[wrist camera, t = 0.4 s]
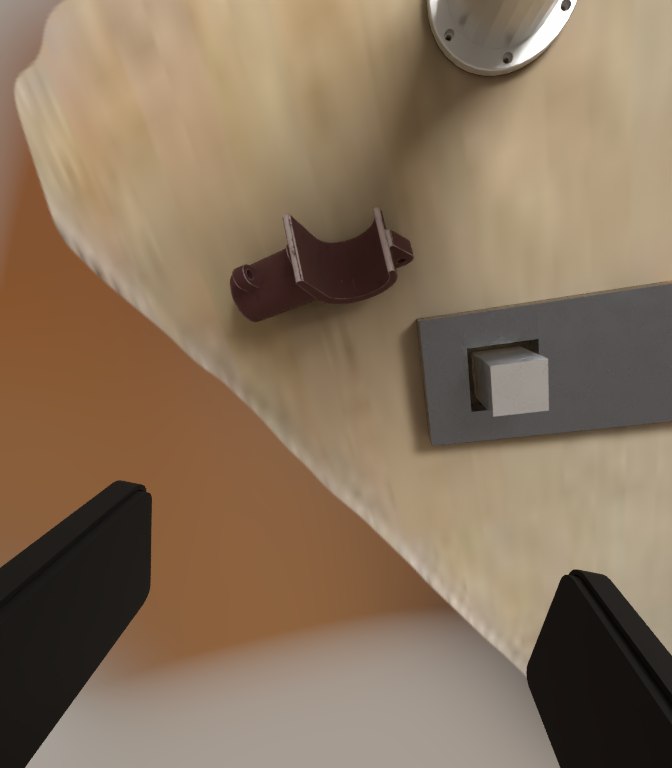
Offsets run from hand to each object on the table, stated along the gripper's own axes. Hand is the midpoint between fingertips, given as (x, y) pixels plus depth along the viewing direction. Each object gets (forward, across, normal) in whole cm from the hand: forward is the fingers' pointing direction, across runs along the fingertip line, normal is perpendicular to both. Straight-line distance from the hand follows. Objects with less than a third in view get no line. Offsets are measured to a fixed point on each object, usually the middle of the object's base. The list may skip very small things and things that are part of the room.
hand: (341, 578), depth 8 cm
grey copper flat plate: (+34, -24, -3) cm, 42 cm away
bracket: (+35, +6, -8) cm, 36 cm away
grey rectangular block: (+34, -15, 0) cm, 37 cm away
